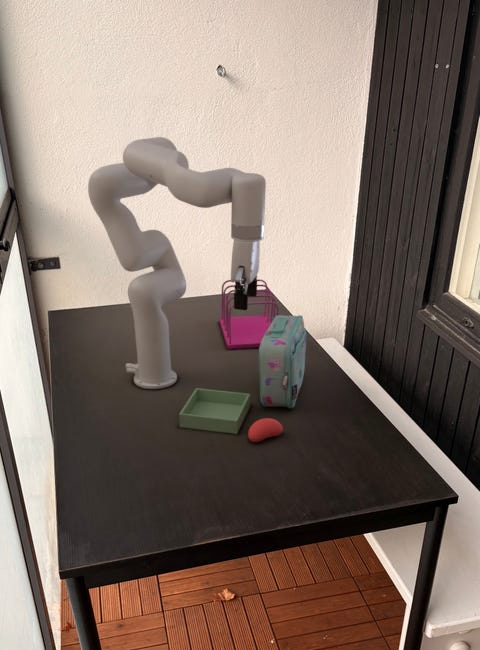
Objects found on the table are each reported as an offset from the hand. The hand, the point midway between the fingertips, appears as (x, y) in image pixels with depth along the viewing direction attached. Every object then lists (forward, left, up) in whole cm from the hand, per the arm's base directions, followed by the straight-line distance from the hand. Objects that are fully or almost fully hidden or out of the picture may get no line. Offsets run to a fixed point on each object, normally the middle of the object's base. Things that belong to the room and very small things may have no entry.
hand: (245, 302), depth 157 cm
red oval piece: (+8, -11, -31) cm, 34 cm away
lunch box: (+8, +14, -31) cm, 35 cm away
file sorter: (-11, +55, -31) cm, 64 cm away
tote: (-7, -3, -31) cm, 32 cm away
